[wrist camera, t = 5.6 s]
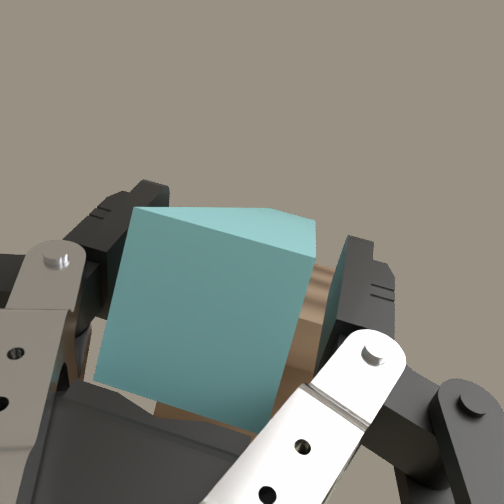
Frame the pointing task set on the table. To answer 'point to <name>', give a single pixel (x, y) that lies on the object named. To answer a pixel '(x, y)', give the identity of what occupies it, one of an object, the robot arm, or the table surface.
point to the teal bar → (208, 309)
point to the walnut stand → (299, 354)
